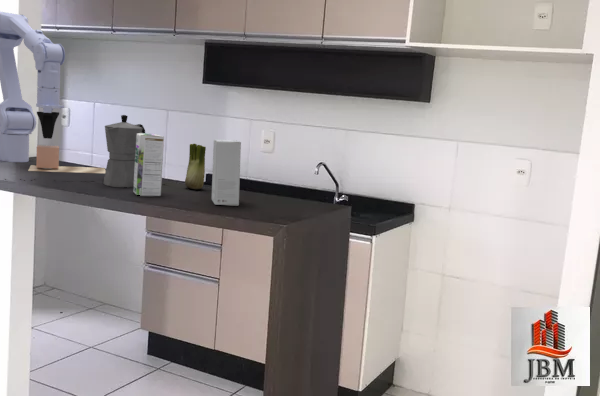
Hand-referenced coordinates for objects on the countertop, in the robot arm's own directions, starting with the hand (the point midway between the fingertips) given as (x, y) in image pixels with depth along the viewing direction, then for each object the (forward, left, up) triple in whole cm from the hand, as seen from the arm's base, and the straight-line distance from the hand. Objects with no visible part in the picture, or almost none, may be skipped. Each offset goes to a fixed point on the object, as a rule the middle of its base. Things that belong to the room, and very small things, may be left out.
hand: (47, 138), depth 171 cm
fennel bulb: (+44, +2, -10) cm, 45 cm away
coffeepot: (+26, -4, -10) cm, 29 cm away
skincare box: (+58, -12, -10) cm, 60 cm away
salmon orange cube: (0, 0, -8) cm, 8 cm away
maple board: (+4, +3, -9) cm, 11 cm away
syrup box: (+38, -14, -10) cm, 42 cm away
